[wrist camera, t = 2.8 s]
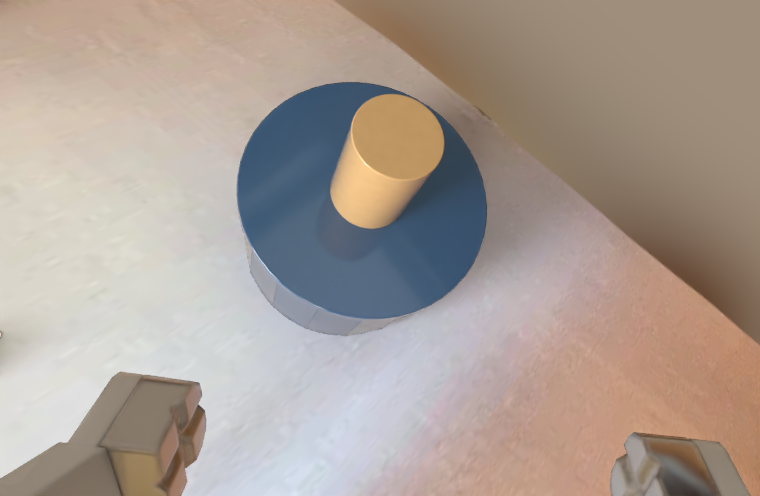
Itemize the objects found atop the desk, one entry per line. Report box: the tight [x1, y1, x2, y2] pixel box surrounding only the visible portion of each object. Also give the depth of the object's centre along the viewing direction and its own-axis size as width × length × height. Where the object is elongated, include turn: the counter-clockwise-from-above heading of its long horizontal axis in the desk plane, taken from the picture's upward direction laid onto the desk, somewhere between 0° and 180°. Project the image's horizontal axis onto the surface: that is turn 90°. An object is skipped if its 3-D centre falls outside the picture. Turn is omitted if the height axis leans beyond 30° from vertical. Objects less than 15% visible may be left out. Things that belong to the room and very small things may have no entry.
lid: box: [237, 82, 487, 321], centre depth 28 cm, size 14×14×8 cm
